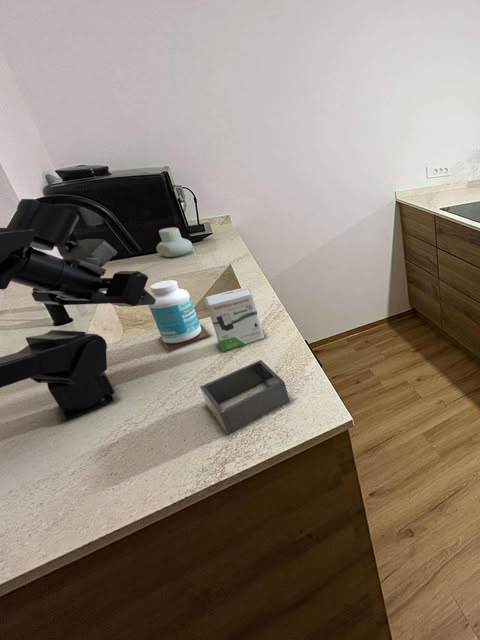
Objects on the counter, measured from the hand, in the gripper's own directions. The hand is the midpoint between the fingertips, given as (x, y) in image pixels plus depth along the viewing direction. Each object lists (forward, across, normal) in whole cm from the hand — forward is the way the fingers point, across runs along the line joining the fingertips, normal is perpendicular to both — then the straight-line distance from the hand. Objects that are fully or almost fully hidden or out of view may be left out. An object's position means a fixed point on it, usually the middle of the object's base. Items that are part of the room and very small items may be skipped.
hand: (133, 301), depth 76 cm
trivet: (+15, 0, +4) cm, 16 cm away
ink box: (+15, -15, +5) cm, 21 cm away
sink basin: (+1, -30, +19) cm, 35 cm away
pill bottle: (+14, 0, +4) cm, 15 cm away
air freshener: (+54, +50, -35) cm, 82 cm away
